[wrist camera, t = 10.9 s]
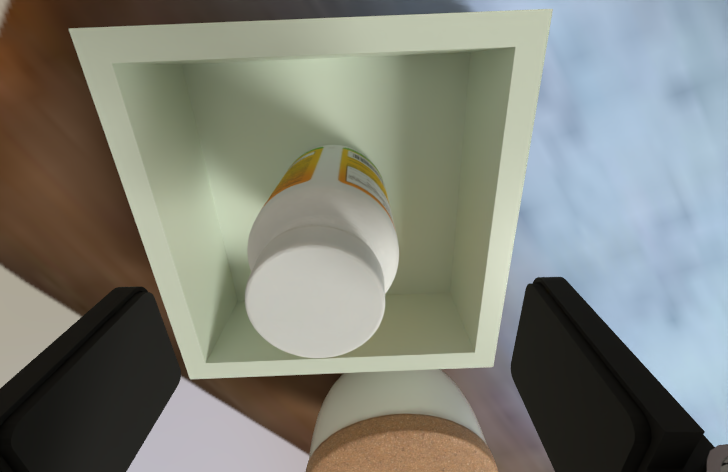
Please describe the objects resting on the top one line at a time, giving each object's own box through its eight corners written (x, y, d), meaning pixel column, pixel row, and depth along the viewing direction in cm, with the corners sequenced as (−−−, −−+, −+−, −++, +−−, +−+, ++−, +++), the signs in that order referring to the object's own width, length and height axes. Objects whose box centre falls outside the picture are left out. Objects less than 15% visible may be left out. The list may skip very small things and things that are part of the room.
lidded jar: (400, 445, 29) (417, 599, 21) (289, 393, 26) (258, 546, 18) (492, 369, 26) (558, 516, 17) (376, 298, 23) (387, 434, 14)
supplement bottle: (285, 238, 20) (228, 376, 11) (280, 140, 17) (202, 215, 9) (381, 241, 20) (401, 379, 11) (389, 145, 18) (421, 223, 9)
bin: (487, 28, 16) (552, 9, 11) (460, 295, 23) (492, 366, 17) (164, 41, 16) (68, 28, 11) (229, 305, 23) (190, 379, 17)
